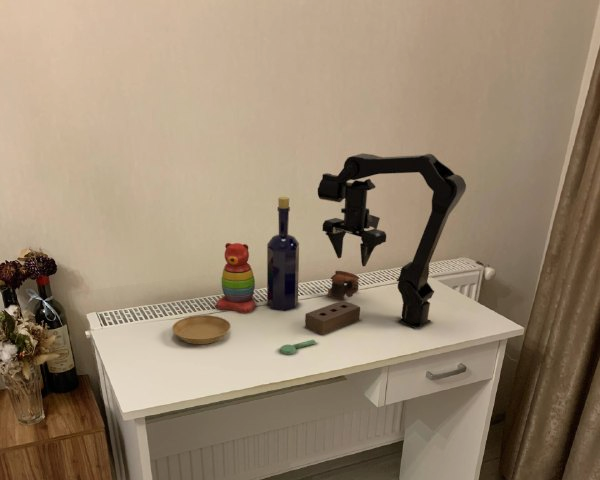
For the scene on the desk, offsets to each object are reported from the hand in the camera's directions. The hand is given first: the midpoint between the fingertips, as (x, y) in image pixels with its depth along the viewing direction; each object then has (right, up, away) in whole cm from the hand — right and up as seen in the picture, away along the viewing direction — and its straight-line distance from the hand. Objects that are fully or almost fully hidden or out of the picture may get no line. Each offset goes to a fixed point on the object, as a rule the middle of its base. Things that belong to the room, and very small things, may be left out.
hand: (351, 262), depth 170 cm
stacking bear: (-32, -11, +5) cm, 35 cm away
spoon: (-11, -24, -16) cm, 30 cm away
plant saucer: (-40, -22, -13) cm, 47 cm away
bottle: (-19, -11, +6) cm, 23 cm away
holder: (-6, -18, -5) cm, 19 cm away
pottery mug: (-1, -7, +13) cm, 15 cm away
